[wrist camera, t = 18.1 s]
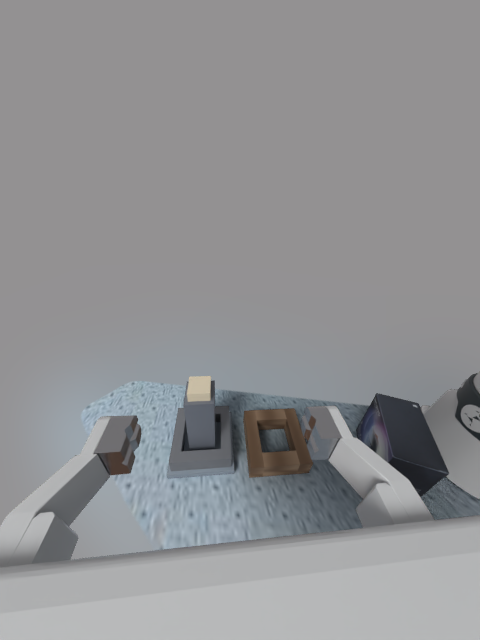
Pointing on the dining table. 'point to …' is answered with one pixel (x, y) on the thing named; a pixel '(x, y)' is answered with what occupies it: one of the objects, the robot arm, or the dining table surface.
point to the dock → (202, 460)
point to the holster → (275, 461)
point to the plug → (200, 413)
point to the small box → (403, 440)
